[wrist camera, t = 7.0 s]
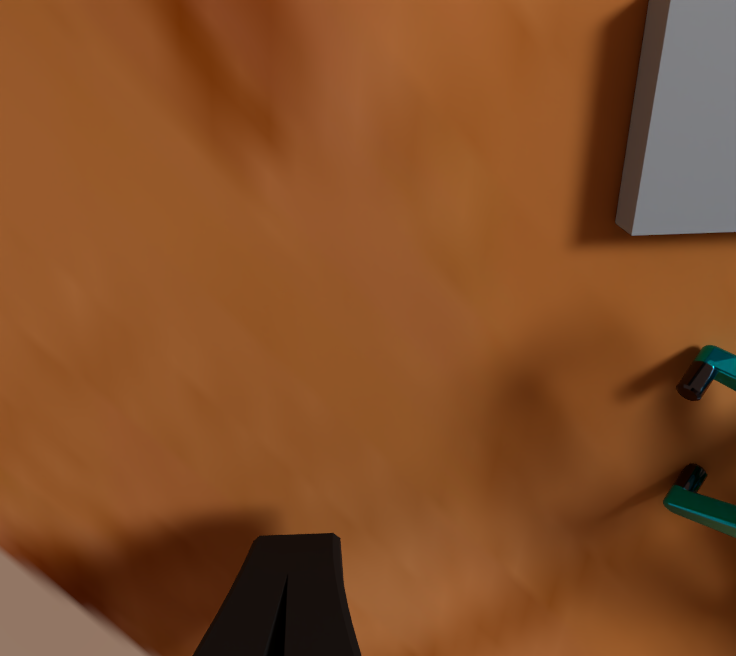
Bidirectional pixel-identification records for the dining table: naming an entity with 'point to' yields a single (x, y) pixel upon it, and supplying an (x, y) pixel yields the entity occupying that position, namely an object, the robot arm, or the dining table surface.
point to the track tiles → (683, 123)
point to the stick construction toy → (684, 490)
